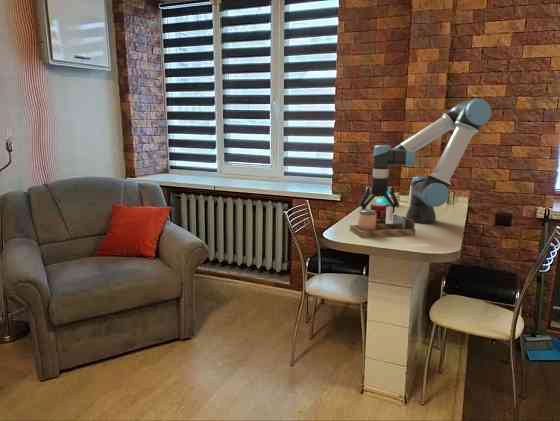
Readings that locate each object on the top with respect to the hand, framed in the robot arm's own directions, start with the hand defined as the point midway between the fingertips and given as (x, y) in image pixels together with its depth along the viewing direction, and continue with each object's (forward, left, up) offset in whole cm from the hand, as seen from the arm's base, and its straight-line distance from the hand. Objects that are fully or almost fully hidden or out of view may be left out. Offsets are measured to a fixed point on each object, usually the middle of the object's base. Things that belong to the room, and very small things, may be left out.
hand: (377, 220), depth 215 cm
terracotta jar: (+13, +18, -2) cm, 23 cm away
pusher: (-3, +18, -1) cm, 18 cm away
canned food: (0, 0, -3) cm, 3 cm away
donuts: (-30, -56, -3) cm, 64 cm away
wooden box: (+6, +18, -3) cm, 19 cm away
